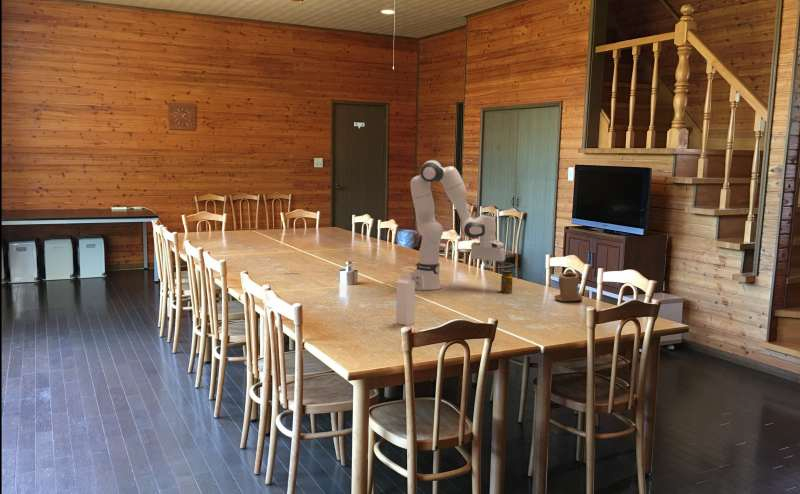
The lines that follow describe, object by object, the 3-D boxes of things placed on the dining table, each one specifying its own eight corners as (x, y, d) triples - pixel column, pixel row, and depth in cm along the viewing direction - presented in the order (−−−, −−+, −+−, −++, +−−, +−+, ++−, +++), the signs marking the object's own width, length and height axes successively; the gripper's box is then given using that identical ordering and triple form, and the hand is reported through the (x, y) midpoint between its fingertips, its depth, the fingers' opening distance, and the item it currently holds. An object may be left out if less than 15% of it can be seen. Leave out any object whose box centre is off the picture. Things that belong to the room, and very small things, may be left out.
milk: (403, 320, 299) (404, 273, 296) (414, 323, 296) (415, 274, 293) (395, 323, 294) (396, 274, 292) (406, 325, 291) (407, 276, 288)
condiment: (515, 293, 362) (516, 271, 361) (503, 294, 358) (504, 273, 356) (506, 290, 368) (507, 269, 367) (494, 292, 364) (495, 270, 362)
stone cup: (560, 304, 337) (562, 275, 335) (551, 298, 349) (552, 271, 347) (588, 303, 340) (590, 274, 338) (578, 298, 352) (579, 270, 350)
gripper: (468, 242, 370) (468, 266, 372) (501, 245, 358) (501, 270, 360) (474, 241, 375) (474, 265, 377) (506, 243, 363) (506, 268, 365)
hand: (487, 267), depth 368 cm, fingers closed
